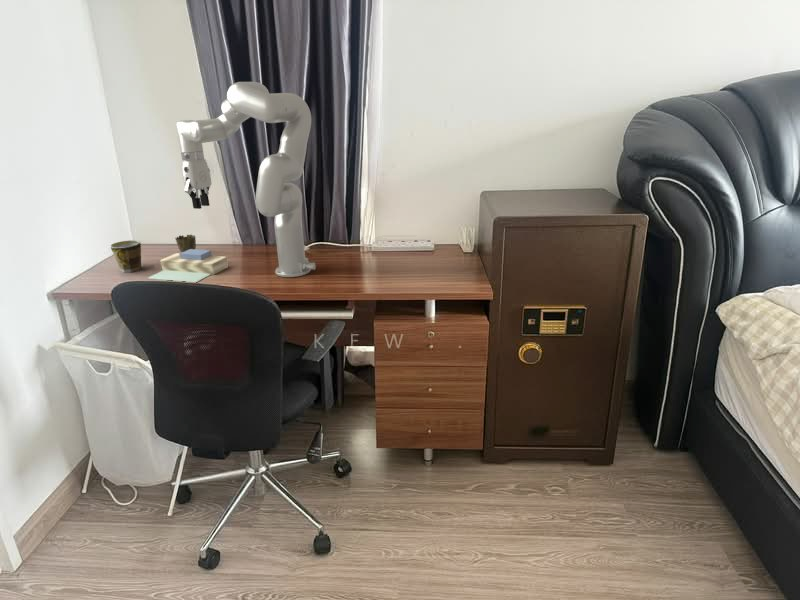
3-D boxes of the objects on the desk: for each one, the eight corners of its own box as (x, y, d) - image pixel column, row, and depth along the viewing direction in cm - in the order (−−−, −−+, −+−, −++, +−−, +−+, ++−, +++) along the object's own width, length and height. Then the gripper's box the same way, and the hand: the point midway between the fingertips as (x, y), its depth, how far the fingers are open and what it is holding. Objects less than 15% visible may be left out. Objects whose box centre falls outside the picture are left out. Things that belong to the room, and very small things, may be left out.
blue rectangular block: (211, 255, 195) (210, 250, 194) (201, 260, 189) (200, 255, 189) (190, 254, 197) (189, 249, 196) (180, 258, 192) (179, 253, 191)
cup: (198, 252, 213) (195, 233, 210) (198, 257, 207) (194, 237, 204) (179, 254, 211) (175, 235, 208) (178, 259, 205) (174, 239, 202)
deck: (228, 266, 194) (226, 256, 193) (213, 274, 186) (211, 264, 185) (178, 263, 200) (176, 253, 199) (162, 270, 192) (160, 260, 191)
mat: (211, 274, 187) (211, 273, 187) (195, 283, 179) (195, 282, 179) (164, 270, 192) (164, 269, 192) (147, 278, 184) (147, 278, 184)
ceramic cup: (123, 266, 199) (116, 240, 195) (149, 264, 199) (144, 239, 196) (108, 277, 187) (101, 250, 183) (137, 276, 187) (131, 249, 184)
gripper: (186, 159, 179) (196, 212, 185) (215, 153, 193) (223, 202, 200) (168, 159, 181) (178, 211, 187) (198, 153, 195) (206, 202, 202)
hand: (201, 206), depth 194 cm, fingers open, 4 cm apart
